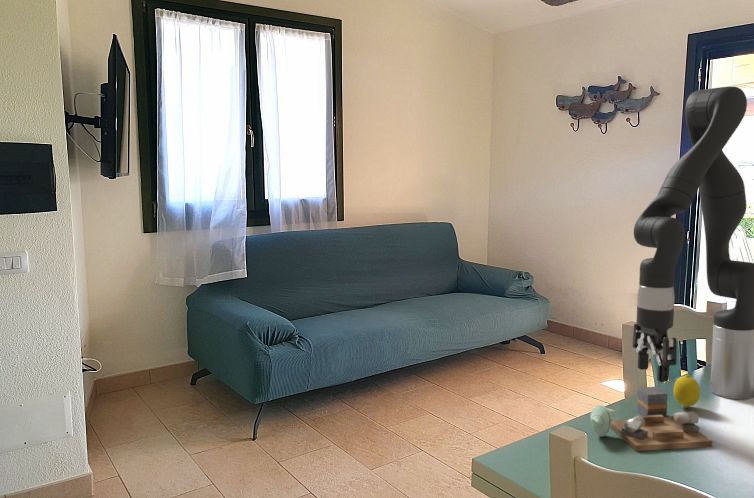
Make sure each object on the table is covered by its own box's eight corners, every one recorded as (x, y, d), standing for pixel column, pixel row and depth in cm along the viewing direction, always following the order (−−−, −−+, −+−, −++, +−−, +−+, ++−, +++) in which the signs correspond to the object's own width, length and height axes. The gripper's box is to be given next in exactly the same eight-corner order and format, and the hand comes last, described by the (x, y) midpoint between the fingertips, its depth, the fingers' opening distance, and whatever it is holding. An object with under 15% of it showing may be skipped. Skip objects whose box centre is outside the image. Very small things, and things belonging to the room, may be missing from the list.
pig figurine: (600, 445, 122) (600, 414, 121) (581, 439, 125) (582, 408, 124) (618, 433, 127) (619, 403, 126) (600, 427, 130) (601, 398, 129)
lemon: (702, 413, 135) (704, 379, 134) (676, 411, 137) (678, 378, 135) (694, 403, 141) (696, 371, 140) (670, 402, 142) (671, 370, 141)
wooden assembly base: (678, 421, 131) (679, 401, 131) (712, 446, 119) (713, 424, 119) (608, 425, 130) (609, 405, 130) (635, 451, 119) (636, 428, 118)
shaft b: (629, 428, 126) (629, 412, 125) (649, 435, 122) (650, 419, 122) (619, 434, 123) (619, 418, 123) (639, 441, 120) (640, 424, 120)
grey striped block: (656, 410, 138) (656, 386, 137) (666, 419, 133) (667, 393, 132) (636, 412, 137) (637, 387, 136) (647, 420, 133) (647, 395, 132)
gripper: (690, 312, 125) (686, 385, 127) (654, 298, 139) (651, 364, 141) (656, 313, 124) (653, 386, 126) (623, 299, 138) (621, 365, 140)
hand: (652, 374), depth 134 cm, fingers open, 8 cm apart
